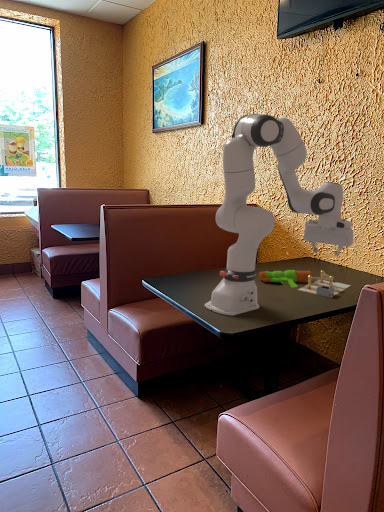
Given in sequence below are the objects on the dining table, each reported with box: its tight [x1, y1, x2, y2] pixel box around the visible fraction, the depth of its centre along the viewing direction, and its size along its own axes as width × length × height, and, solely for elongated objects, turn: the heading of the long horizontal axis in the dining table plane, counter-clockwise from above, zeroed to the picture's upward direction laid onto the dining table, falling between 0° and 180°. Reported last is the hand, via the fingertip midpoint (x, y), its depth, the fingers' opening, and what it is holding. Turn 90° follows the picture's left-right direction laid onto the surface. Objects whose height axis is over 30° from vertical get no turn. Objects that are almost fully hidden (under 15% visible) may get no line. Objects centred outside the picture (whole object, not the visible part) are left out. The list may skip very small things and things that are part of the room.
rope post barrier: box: [307, 269, 335, 289], centre depth 173 cm, size 16×9×6 cm, turn 139°
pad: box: [332, 282, 352, 290], centre depth 177 cm, size 7×7×1 cm
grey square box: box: [315, 285, 334, 298], centre depth 163 cm, size 6×6×3 cm
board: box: [297, 280, 348, 298], centre depth 173 cm, size 25×15×1 cm, turn 139°
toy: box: [258, 269, 313, 288], centre depth 179 cm, size 7×25×15 cm
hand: (326, 253), depth 161 cm, fingers open, 8 cm apart
